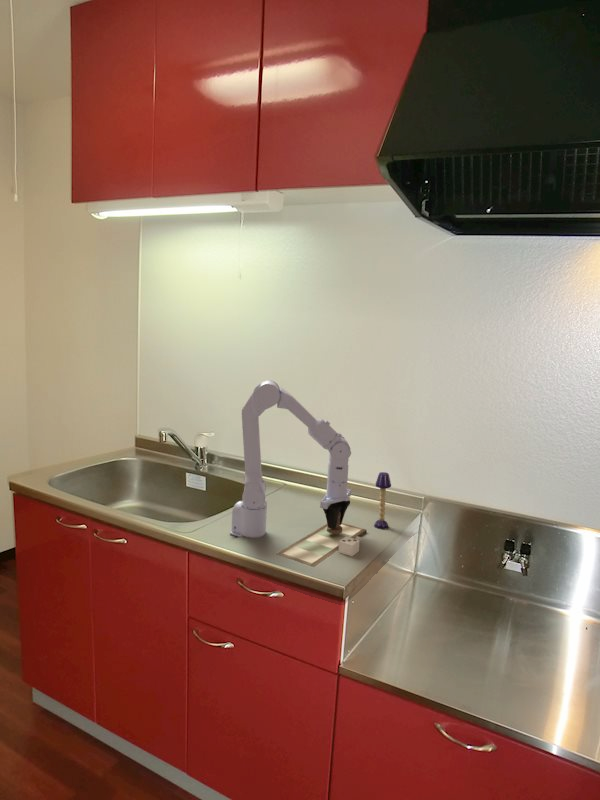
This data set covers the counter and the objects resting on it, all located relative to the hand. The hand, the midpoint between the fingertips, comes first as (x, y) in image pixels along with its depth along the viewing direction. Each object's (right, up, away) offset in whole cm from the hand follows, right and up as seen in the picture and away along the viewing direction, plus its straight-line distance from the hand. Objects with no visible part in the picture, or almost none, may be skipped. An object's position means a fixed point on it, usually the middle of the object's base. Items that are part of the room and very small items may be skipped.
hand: (334, 526), depth 149 cm
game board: (-3, -4, -4) cm, 6 cm away
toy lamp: (+15, -3, +11) cm, 19 cm away
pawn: (0, -1, 0) cm, 1 cm away
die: (+3, -5, -10) cm, 12 cm away
